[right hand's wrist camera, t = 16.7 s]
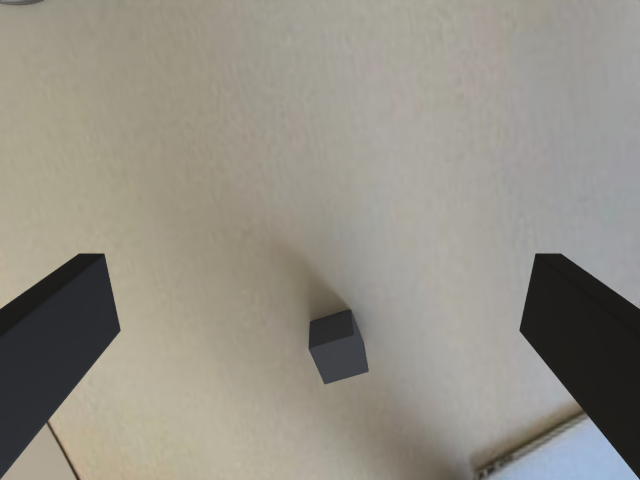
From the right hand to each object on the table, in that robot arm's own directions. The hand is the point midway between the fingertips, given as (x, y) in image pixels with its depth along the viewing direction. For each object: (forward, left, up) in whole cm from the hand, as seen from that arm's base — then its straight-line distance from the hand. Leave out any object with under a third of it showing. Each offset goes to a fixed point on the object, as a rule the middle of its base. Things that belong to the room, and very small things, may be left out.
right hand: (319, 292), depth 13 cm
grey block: (+21, +2, -29) cm, 36 cm away
